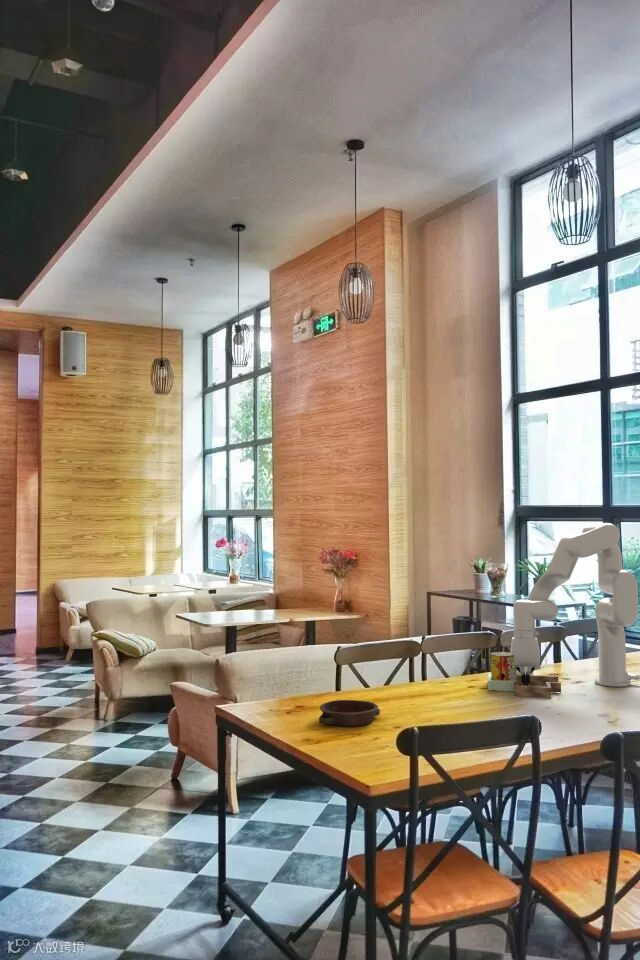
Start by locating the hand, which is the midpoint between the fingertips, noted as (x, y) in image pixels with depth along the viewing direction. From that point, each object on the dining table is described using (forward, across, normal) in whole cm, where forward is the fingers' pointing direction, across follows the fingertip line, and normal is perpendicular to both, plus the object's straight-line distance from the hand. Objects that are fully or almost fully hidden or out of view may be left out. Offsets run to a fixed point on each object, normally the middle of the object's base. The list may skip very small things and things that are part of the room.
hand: (525, 685), depth 289 cm
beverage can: (+1, +8, 0) cm, 8 cm away
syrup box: (+1, 0, -20) cm, 20 cm away
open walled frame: (+1, 0, +4) cm, 4 cm away
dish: (+1, +54, +60) cm, 81 cm away
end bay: (+1, +8, 0) cm, 8 cm away
